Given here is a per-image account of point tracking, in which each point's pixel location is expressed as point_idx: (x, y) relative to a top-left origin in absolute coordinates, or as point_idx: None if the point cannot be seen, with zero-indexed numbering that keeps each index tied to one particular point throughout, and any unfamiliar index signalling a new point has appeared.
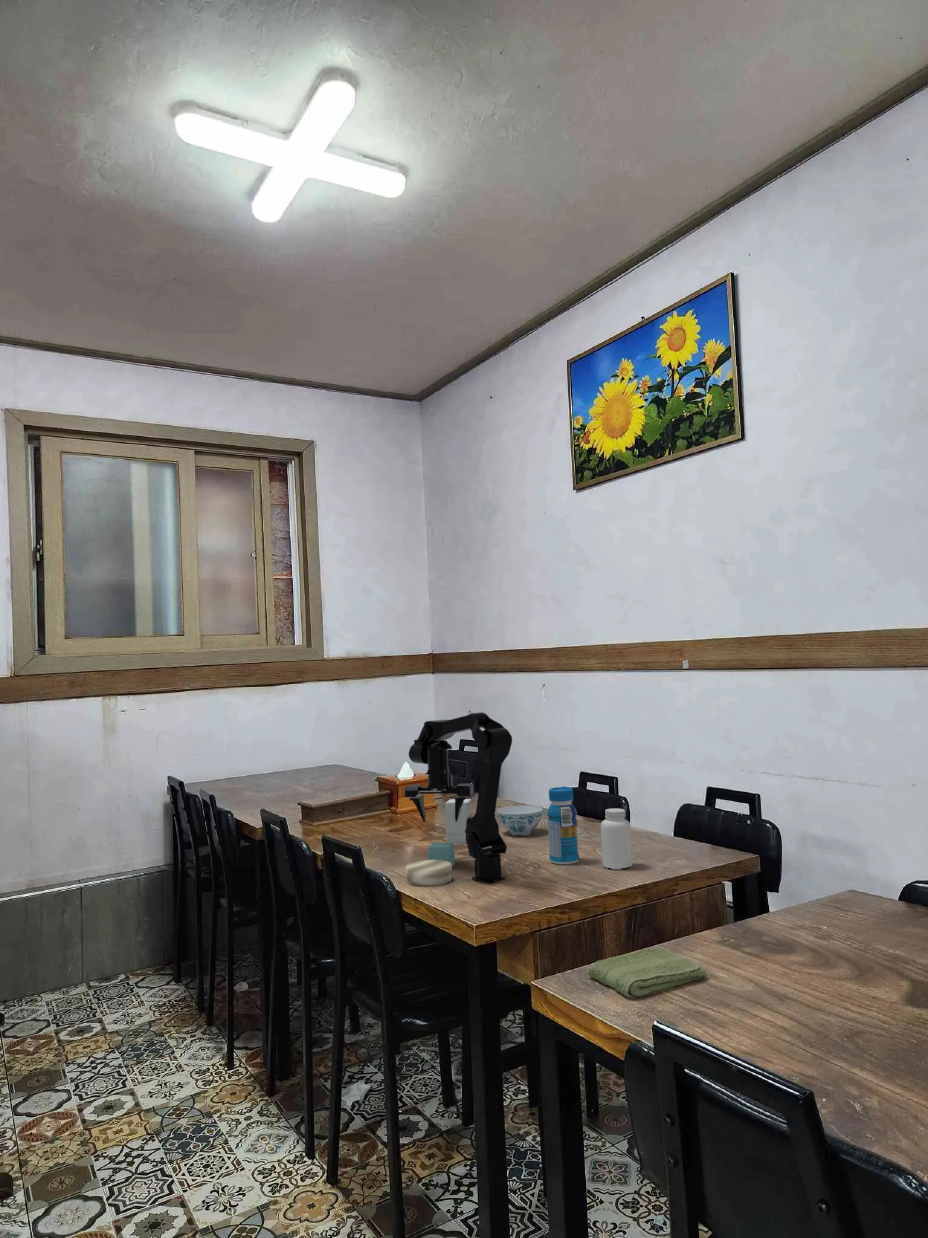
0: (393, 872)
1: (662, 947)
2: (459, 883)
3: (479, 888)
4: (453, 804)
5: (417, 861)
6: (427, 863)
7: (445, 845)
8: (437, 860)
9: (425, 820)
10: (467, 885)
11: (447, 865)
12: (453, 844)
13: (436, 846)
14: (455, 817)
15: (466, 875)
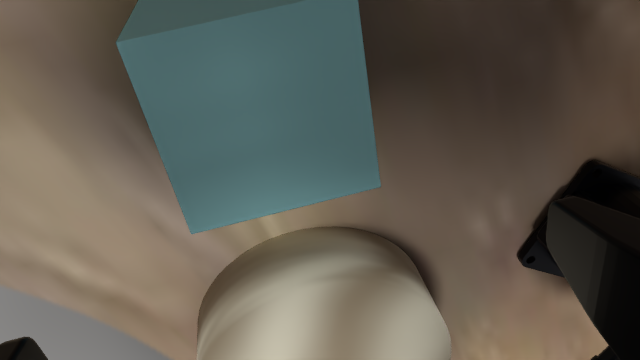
0: (15, 272)
1: None
2: (470, 310)
3: (562, 333)
4: None
5: (219, 347)
6: (303, 356)
7: (318, 137)
8: (335, 294)
9: (29, 352)
10: (509, 320)
11: (432, 350)
12: (358, 24)
13: (251, 193)
14: (594, 310)
15: (473, 198)
